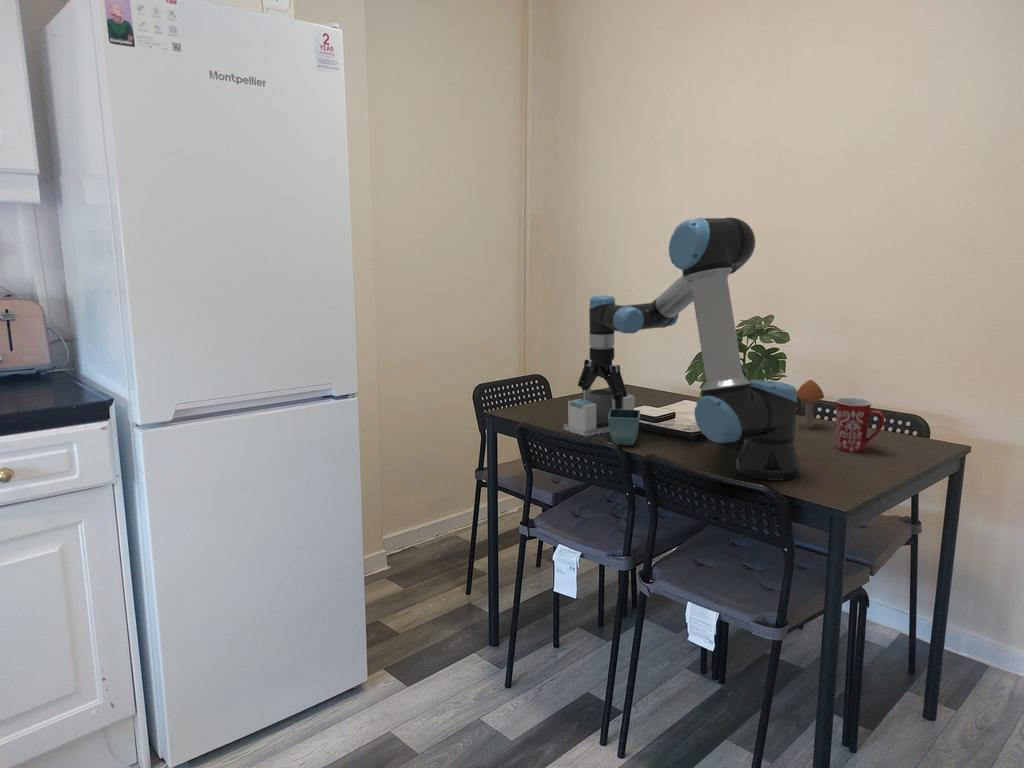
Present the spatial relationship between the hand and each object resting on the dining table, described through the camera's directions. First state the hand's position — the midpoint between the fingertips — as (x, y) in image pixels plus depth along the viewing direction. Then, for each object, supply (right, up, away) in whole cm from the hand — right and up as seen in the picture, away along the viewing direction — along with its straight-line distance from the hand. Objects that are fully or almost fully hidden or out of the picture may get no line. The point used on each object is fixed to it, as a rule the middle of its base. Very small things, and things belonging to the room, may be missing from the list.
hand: (601, 414), depth 220 cm
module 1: (-6, -4, -4) cm, 8 cm away
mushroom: (+62, -4, -4) cm, 63 cm away
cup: (0, -3, +1) cm, 3 cm away
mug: (+67, -9, -25) cm, 72 cm away
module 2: (+6, -2, +5) cm, 8 cm away
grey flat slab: (0, -4, +1) cm, 4 cm away
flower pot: (+5, -8, -15) cm, 17 cm away
